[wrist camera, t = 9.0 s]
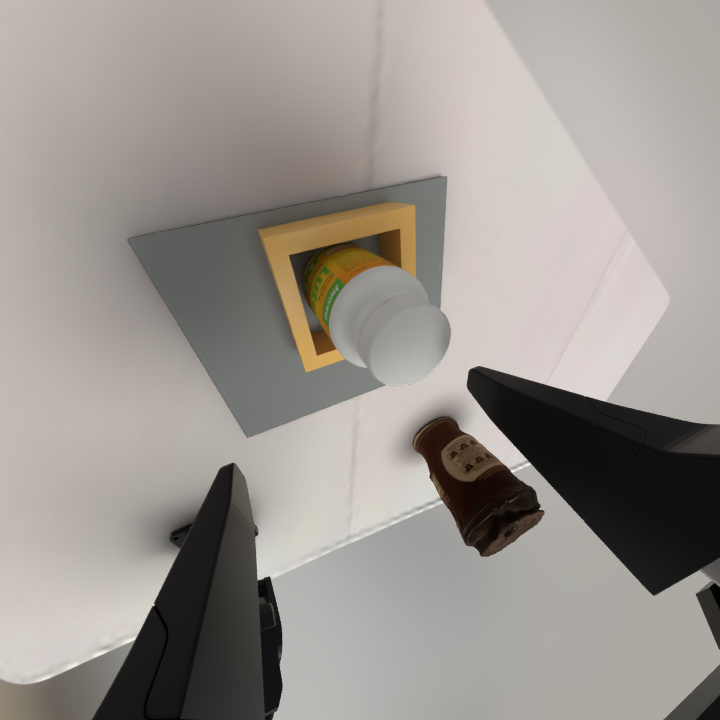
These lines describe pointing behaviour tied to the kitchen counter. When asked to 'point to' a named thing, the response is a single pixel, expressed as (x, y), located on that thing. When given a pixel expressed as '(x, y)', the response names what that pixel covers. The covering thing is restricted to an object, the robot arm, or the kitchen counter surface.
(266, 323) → the slate board
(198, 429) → the kitchen counter surface
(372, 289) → the supplement bottle
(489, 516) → the coffee cup
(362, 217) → the orange collar
